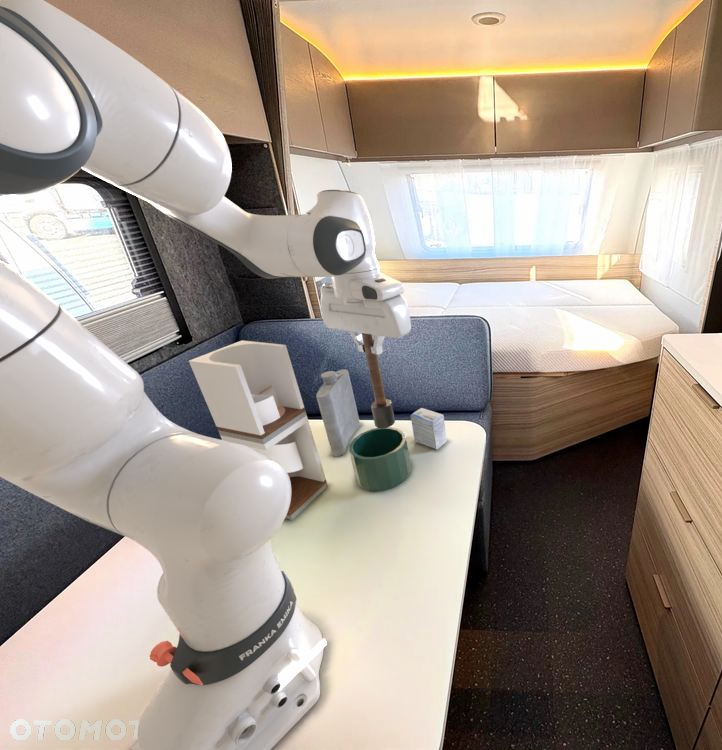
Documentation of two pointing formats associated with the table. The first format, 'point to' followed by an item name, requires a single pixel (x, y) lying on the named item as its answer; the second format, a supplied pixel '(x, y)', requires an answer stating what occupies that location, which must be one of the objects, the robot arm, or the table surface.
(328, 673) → the table surface
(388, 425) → the wooden plunger stick
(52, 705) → the table surface
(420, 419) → the medicine box
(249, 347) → the white storage rack
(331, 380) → the hip flask
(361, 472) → the canister
